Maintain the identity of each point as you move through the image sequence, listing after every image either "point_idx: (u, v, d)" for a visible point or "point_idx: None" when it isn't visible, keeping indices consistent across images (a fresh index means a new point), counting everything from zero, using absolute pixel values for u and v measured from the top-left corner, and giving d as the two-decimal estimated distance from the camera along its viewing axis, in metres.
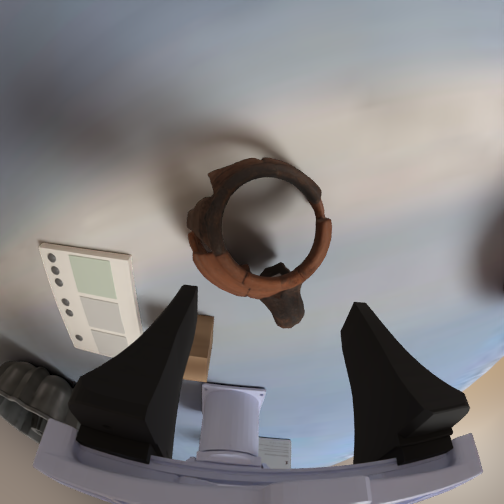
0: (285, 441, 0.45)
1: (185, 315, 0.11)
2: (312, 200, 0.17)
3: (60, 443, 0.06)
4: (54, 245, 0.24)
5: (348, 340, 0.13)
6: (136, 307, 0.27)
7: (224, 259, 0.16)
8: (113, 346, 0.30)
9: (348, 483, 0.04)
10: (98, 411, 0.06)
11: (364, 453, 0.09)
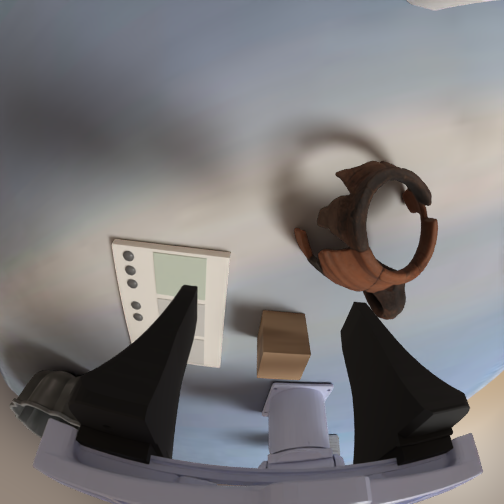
0: (333, 436, 0.45)
1: (185, 315, 0.11)
2: (425, 202, 0.17)
3: (60, 443, 0.06)
4: (132, 242, 0.24)
5: (348, 340, 0.13)
6: None
7: (367, 255, 0.16)
8: None
9: (348, 483, 0.04)
10: (98, 412, 0.06)
11: (364, 453, 0.09)
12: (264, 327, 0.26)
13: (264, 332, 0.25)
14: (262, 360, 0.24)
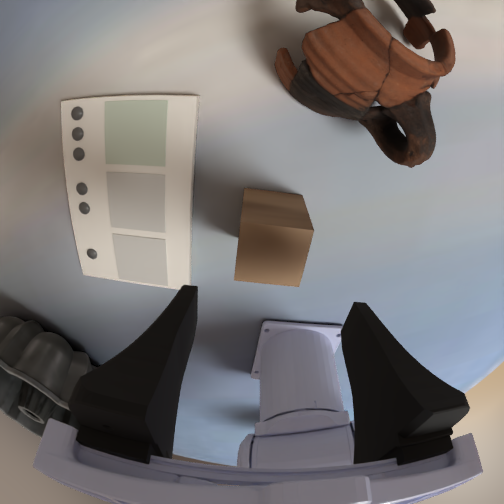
0: None
1: (185, 315, 0.11)
2: (428, 9, 0.09)
3: (60, 443, 0.06)
4: (84, 98, 0.16)
5: (348, 340, 0.13)
6: (192, 181, 0.19)
7: (365, 14, 0.08)
8: (142, 261, 0.22)
9: (348, 483, 0.04)
10: (98, 411, 0.06)
11: (364, 453, 0.09)
12: (244, 200, 0.18)
13: (244, 204, 0.18)
14: (240, 240, 0.17)
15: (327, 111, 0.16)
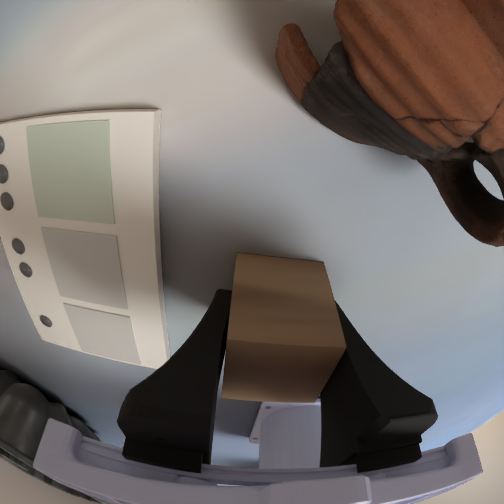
0: None
1: (226, 320, 0.11)
2: None
3: (60, 443, 0.06)
4: (7, 121, 0.09)
5: None
6: (157, 244, 0.13)
7: None
8: (105, 337, 0.16)
9: (348, 483, 0.04)
10: (156, 426, 0.06)
11: (328, 457, 0.09)
12: (235, 284, 0.12)
13: (234, 294, 0.11)
14: (227, 360, 0.10)
15: (367, 140, 0.09)
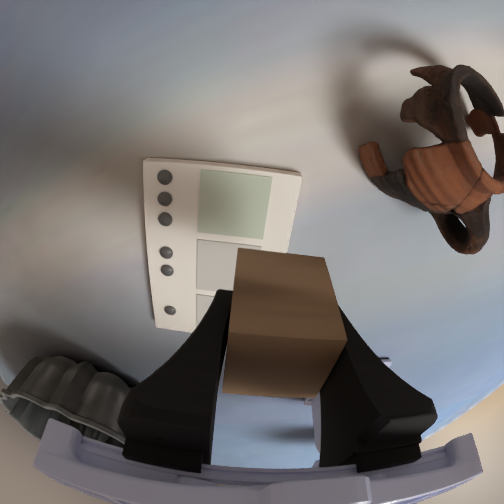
0: None
1: (226, 320, 0.11)
2: (499, 113, 0.11)
3: (60, 443, 0.06)
4: (171, 159, 0.18)
5: None
6: None
7: (468, 146, 0.10)
8: None
9: (348, 483, 0.04)
10: (156, 426, 0.06)
11: (328, 457, 0.09)
12: (236, 278, 0.12)
13: (236, 288, 0.11)
14: (229, 354, 0.10)
15: (402, 200, 0.17)
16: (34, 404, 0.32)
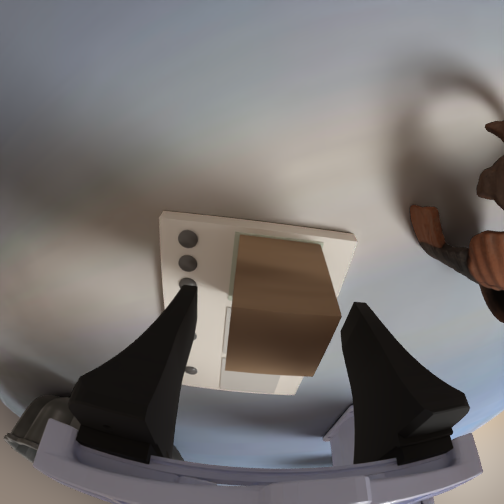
0: None
1: (185, 315, 0.11)
2: None
3: (60, 443, 0.06)
4: (195, 215, 0.15)
5: (348, 340, 0.13)
6: None
7: None
8: (253, 378, 0.21)
9: (348, 483, 0.04)
10: (98, 412, 0.06)
11: (364, 453, 0.09)
12: (239, 261, 0.13)
13: (238, 269, 0.12)
14: (232, 329, 0.11)
15: (451, 267, 0.14)
16: None
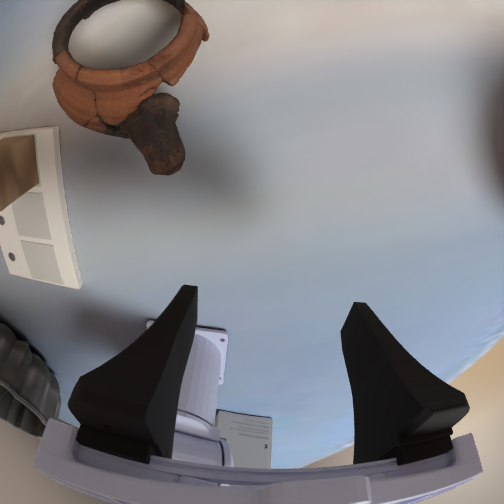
0: (265, 419, 0.38)
1: (185, 315, 0.11)
2: (173, 0, 0.10)
3: (60, 443, 0.06)
4: None
5: (348, 340, 0.13)
6: (61, 197, 0.20)
7: (61, 57, 0.09)
8: (43, 263, 0.23)
9: (348, 483, 0.04)
10: (98, 412, 0.06)
11: (364, 453, 0.09)
12: None
13: None
14: None
15: None
16: None
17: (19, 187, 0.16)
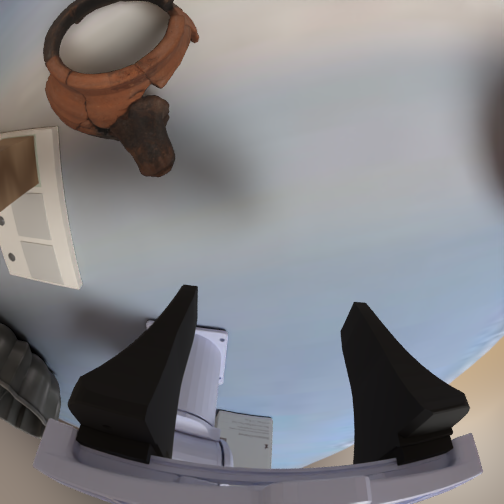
0: (265, 419, 0.38)
1: (185, 315, 0.11)
2: (161, 2, 0.10)
3: (60, 443, 0.06)
4: None
5: (348, 340, 0.13)
6: (61, 197, 0.20)
7: (52, 62, 0.09)
8: (42, 263, 0.23)
9: (348, 483, 0.04)
10: (98, 412, 0.06)
11: (364, 453, 0.09)
12: None
13: None
14: None
15: None
16: None
17: (18, 187, 0.16)
